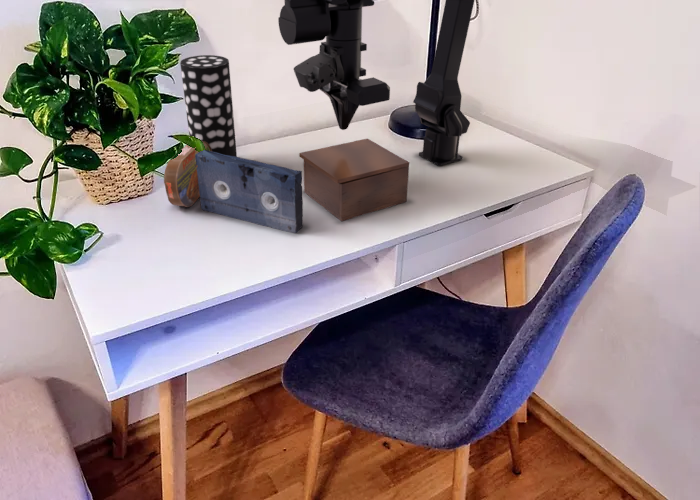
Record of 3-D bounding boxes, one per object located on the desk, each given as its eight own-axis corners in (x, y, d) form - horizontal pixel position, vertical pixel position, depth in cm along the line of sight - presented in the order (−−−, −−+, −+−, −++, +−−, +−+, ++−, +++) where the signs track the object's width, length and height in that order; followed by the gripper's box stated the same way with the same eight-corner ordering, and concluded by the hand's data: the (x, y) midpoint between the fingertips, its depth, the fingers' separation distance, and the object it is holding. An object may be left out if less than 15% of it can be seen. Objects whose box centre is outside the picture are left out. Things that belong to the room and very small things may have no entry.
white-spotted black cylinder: (184, 171, 118) (170, 64, 107) (209, 155, 124) (198, 53, 114) (222, 179, 115) (211, 70, 104) (245, 162, 122) (237, 58, 111)
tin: (183, 215, 103) (176, 168, 98) (165, 213, 103) (157, 167, 99) (217, 177, 115) (213, 134, 111) (201, 176, 116) (196, 133, 112)
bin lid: (337, 183, 98) (337, 179, 98) (299, 156, 107) (299, 152, 106) (409, 166, 105) (409, 162, 105) (367, 142, 114) (367, 138, 113)
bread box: (341, 221, 102) (341, 184, 99) (304, 192, 111) (303, 157, 107) (406, 201, 108) (409, 166, 105) (366, 175, 117) (367, 142, 114)
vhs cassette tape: (304, 227, 100) (302, 170, 95) (294, 235, 98) (292, 177, 93) (211, 202, 107) (204, 148, 102) (200, 209, 105) (193, 154, 100)
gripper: (272, 31, 103) (276, 121, 111) (332, 57, 90) (333, 157, 98) (329, 23, 108) (329, 110, 117) (394, 46, 95) (389, 142, 104)
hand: (343, 129), depth 109 cm, fingers closed
